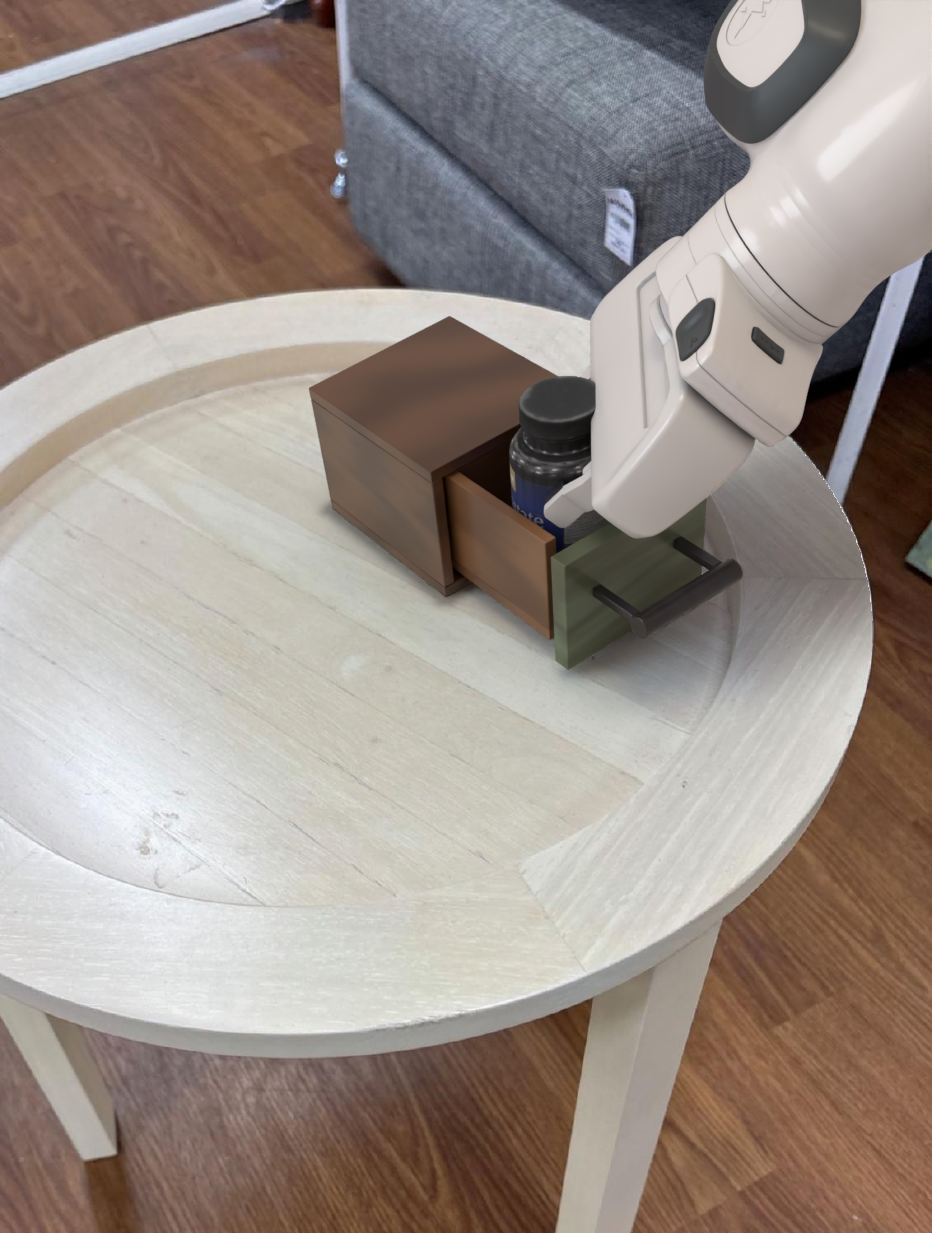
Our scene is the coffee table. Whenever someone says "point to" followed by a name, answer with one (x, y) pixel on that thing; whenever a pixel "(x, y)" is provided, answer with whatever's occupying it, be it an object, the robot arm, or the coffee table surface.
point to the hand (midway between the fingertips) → (553, 476)
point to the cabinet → (417, 435)
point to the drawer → (576, 566)
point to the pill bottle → (553, 451)
